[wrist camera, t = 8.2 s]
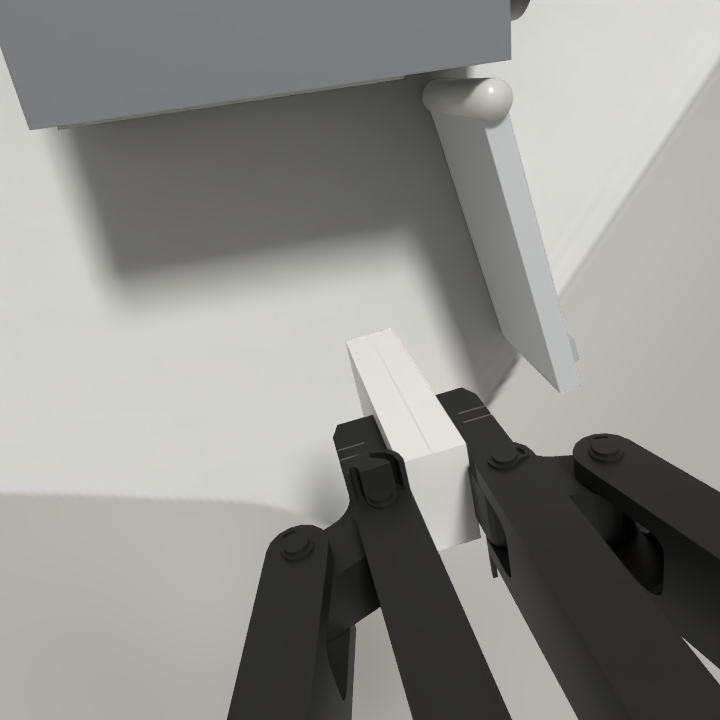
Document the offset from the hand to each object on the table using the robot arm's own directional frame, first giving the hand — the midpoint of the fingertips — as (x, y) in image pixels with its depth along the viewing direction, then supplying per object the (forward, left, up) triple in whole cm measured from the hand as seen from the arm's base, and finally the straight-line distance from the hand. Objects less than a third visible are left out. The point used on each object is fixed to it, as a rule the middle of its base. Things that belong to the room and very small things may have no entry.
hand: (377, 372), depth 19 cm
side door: (+8, +1, -13) cm, 15 cm away
